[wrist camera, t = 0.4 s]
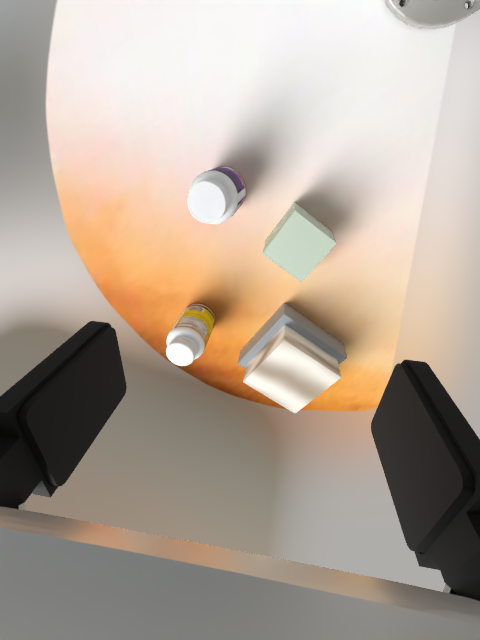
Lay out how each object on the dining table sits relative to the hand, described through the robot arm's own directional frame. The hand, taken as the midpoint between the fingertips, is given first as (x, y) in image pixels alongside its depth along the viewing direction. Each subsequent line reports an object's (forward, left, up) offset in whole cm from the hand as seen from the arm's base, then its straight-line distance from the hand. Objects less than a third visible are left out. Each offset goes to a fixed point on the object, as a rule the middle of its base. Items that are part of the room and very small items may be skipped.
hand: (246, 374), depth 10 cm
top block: (+17, +15, -28) cm, 36 cm away
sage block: (+1, +4, -32) cm, 32 cm away
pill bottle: (+2, -7, -32) cm, 33 cm away
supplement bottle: (+21, 0, -32) cm, 38 cm away
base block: (+16, +15, -32) cm, 39 cm away
